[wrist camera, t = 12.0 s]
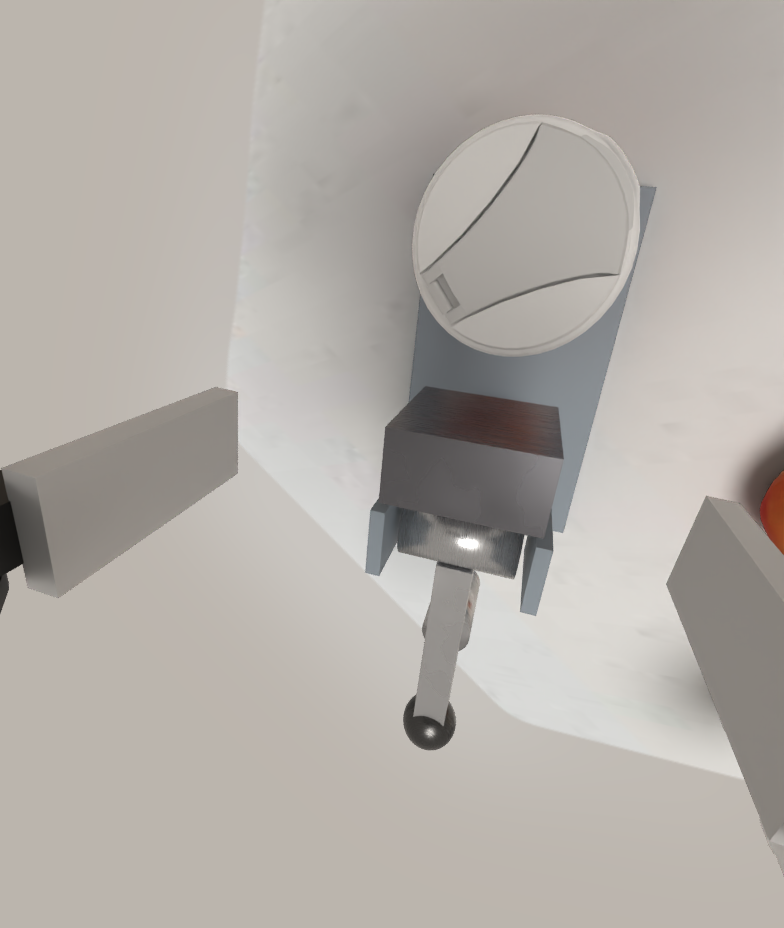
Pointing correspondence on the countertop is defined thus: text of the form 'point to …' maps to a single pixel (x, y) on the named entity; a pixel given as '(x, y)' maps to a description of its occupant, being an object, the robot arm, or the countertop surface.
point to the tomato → (774, 512)
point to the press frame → (522, 379)
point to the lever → (464, 516)
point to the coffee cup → (526, 234)
